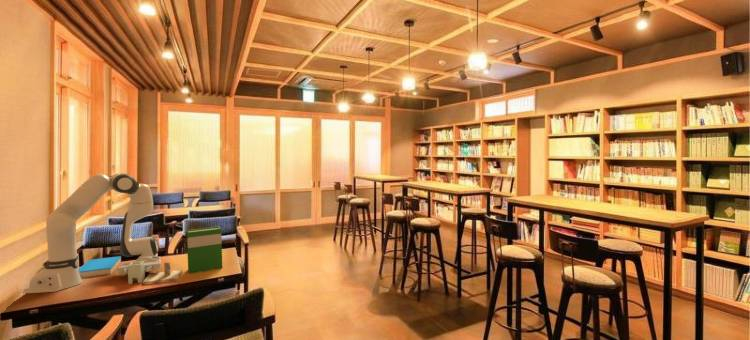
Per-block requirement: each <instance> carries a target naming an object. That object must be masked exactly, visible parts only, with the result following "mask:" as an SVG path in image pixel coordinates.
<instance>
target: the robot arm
mask: <svg viewBox="0 0 750 340" xmlns="http://www.w3.org/2000/svg"><path fill="white" fill-rule="evenodd" d="M109 191H114V192H116V193H120V194H126V195H127V194H128V196H129V200H130V207H129V210H128V211H127V212H126V213H125V215H124V217H123V223H122V231H121V240H120V245H119V253H120V254H121V255H122V256H123V257H126V258H130V257H134V256H138V258H137V259H135V260H134V262H138V261H144V266H145V273H147V272H148V273H149V272H150V271H158V270H161V269H162V257H161V256H158V255H159V254H158V252H159V249H160V246H159V242H158V239H156V238H155V237H154V236H146V237H139V238H138V237H137V238H132V233H133V232H132V231H133V224H134V223H135V222H137V221H139V220H142V219H143V218H145V217H148V216H149V215H150V214H151V213H152V212H153V210H154V199H153V192H152V191H151V187H150V186H149V184H145V183H138V181H137V180H136V179H135V177H133V176H132V175H130V174H128V173H123V172H122V173H121V172H119V173H116V174H114V175H110V176H108V175H106V174H103V173H96V174H94V175H92V176H91V177H89V178H87V180H86V181H84V182H83V183H82V184H80V186H79V187H78V188H77V189H76V190H74V192H72V194H71V195H69V197H68V198H66V199H65V201H63V202H62V203H61V204H60V205H58V206H57V207H56V208H55V209H54V210H53V211H52V212H51V213H50V214H49V215H48V216H47V218H46V223H45V224H46V238H47V239H46V240H47V241H46V242H47V258H48V259H47V260H46V261H44V263H42V267H44V268H43V269H41V270H40V271H38V272H37V273H36V274H35V275H33V276H32V277H31V278H30V280H29V283H28V286H27V287H25V288H23V290H22V294H38V293H39V294H40V293H53V292H54V293H55V292H60V291H62V290H65V289H68V288H71V287H75V286H78V285H79V284H81V283H83V278H81V277H80V274H79V270H78V269H79V263H80V261H79V256H78V254H77V251H78V250H77V221H79V219H80V218H82V217H83V216H84V215H85V214H86V213H87V212H89V211H90V210H91V209H92V208H93V207H94V206H95V204H97V203H98V202H99V200H101V198H103V196H104V195H105V194H106V193H108V192H109ZM139 255H140V256H139ZM130 263H131V262H127V263H123V264H121V265H119V266H117V274H118V275H128V265H129V264H130Z"/></svg>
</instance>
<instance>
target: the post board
mask: <svg viewBox="0 0 750 340" xmlns="http://www.w3.org/2000/svg"><path fill="white" fill-rule="evenodd" d="M163 268H164V271H158V272H150V273H149V274H148V275H147V277H145V279H144V281H143V282H142V285H143V286H146V285H154V284H161V283H170V282H177V281H178V280H179V278H180V277H181V275H182V274H183V269H177V270H171V262H170V261H166V262H164V263H163Z"/></svg>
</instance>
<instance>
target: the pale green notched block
mask: <svg viewBox="0 0 750 340" xmlns="http://www.w3.org/2000/svg"><path fill="white" fill-rule="evenodd" d="M129 263H130V264H129V265H128V274H127V280H128V281H127V284H128V285H131V284H133V283H134V281H137V284H141V283H142V284H143V281H144V280H145V279H146V272H145V266H144V261H138V262H135V261H131V262H129Z"/></svg>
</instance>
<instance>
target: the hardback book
mask: <svg viewBox="0 0 750 340" xmlns="http://www.w3.org/2000/svg"><path fill="white" fill-rule="evenodd" d="M222 241H223V240H222V228H221V227H220V226H212V227H211V226H210V227H201V228H195V229H186V245H187V246H186V249H187V250H186V251H187V271H188V274H189V275H191V274H197V273H201V272H207V271H208V272H209V271H214V270H218V269H223V244H222V243H223V242H222Z"/></svg>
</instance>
